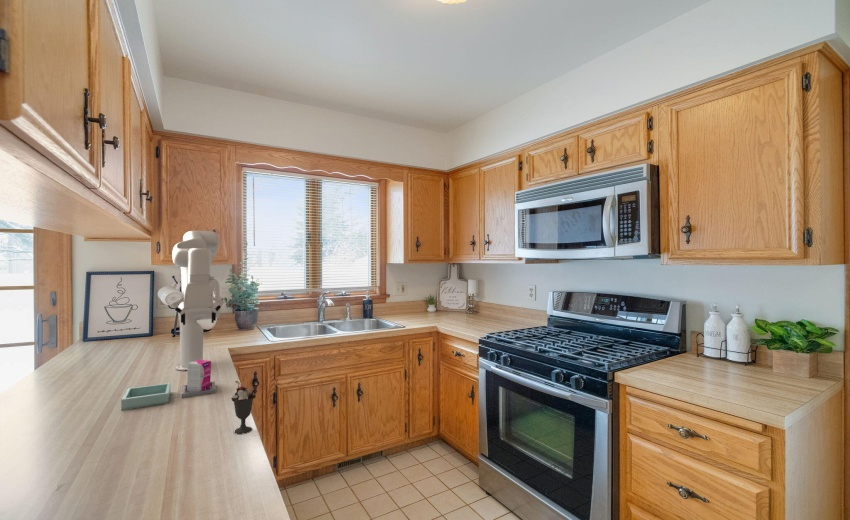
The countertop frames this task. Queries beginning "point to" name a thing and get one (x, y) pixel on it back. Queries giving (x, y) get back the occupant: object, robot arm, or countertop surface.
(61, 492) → the countertop surface
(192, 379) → the supplement box
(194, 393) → the collar
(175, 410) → the countertop surface
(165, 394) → the bin
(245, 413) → the sundae
